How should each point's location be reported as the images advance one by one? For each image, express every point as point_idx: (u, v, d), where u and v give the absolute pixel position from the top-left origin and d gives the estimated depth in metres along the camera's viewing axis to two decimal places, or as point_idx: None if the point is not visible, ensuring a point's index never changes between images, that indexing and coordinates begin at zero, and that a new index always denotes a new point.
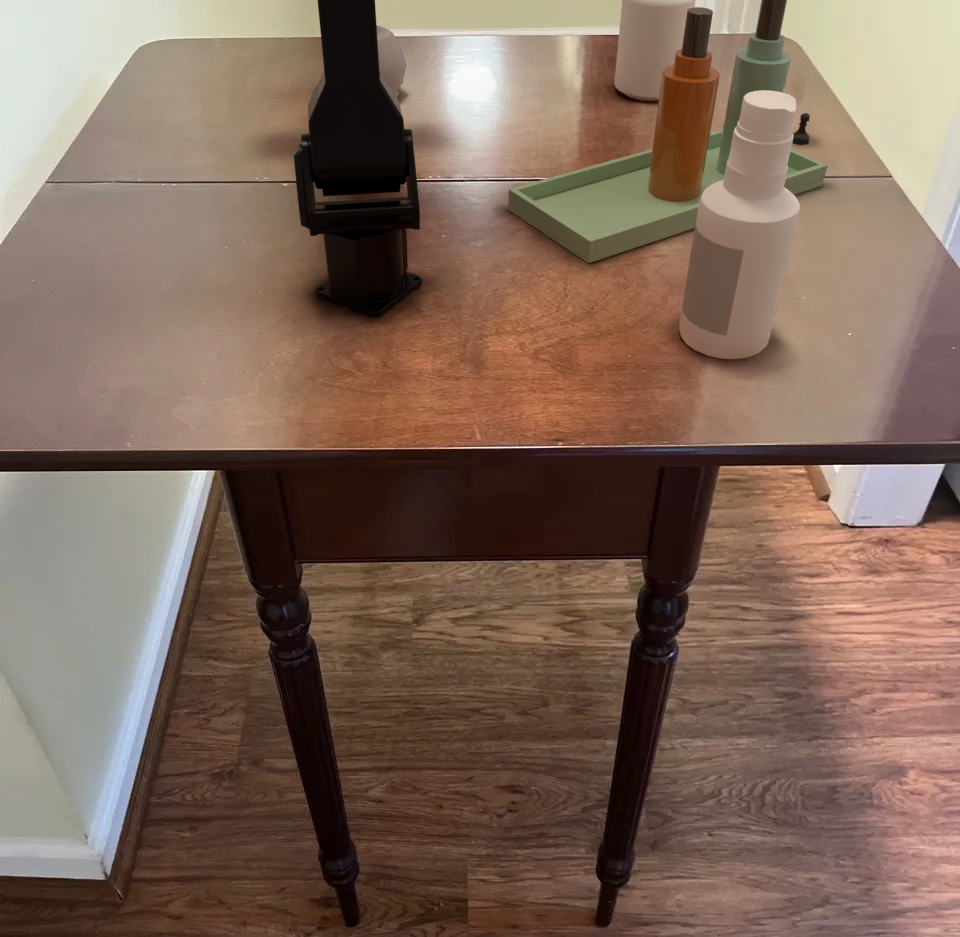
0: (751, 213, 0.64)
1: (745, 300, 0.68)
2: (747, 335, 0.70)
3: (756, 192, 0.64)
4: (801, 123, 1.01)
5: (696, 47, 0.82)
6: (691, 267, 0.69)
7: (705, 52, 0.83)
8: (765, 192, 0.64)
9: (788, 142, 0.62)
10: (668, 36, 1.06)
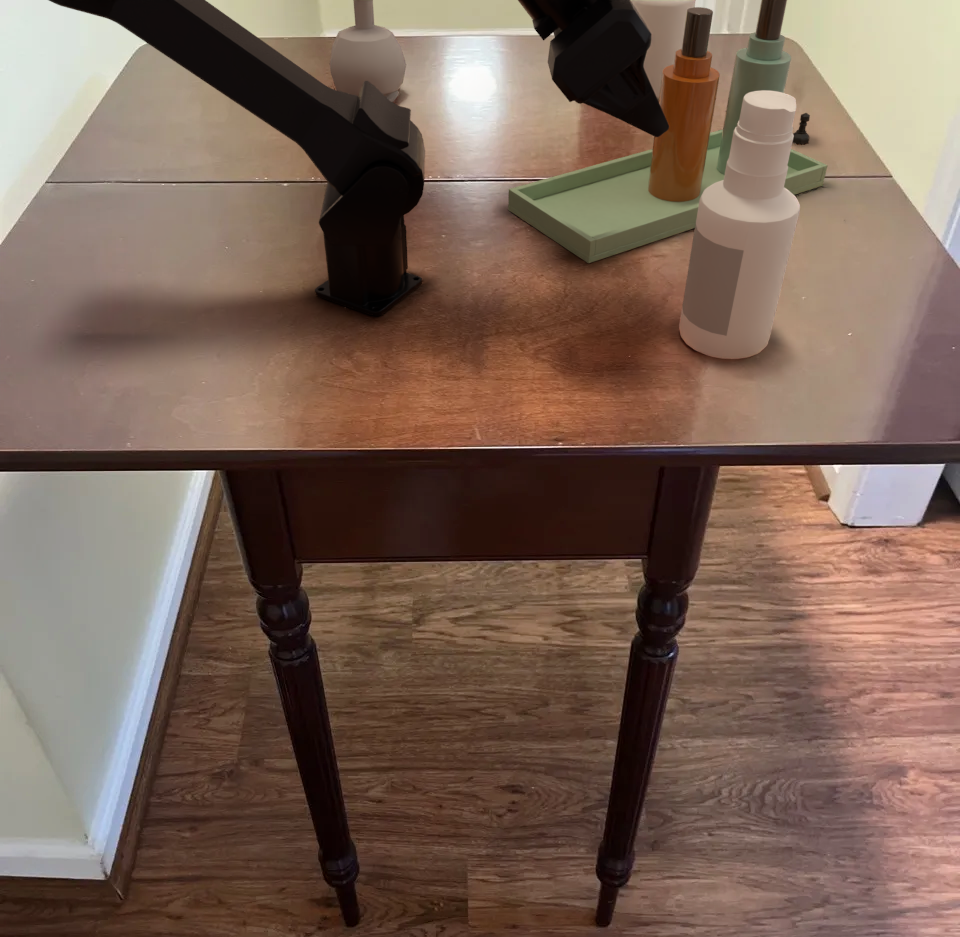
0: (751, 213, 0.64)
1: (745, 300, 0.68)
2: (747, 335, 0.70)
3: (756, 192, 0.64)
4: (801, 123, 1.01)
5: (696, 47, 0.82)
6: (691, 267, 0.69)
7: (705, 52, 0.83)
8: (765, 192, 0.64)
9: (788, 142, 0.62)
10: (668, 36, 1.06)
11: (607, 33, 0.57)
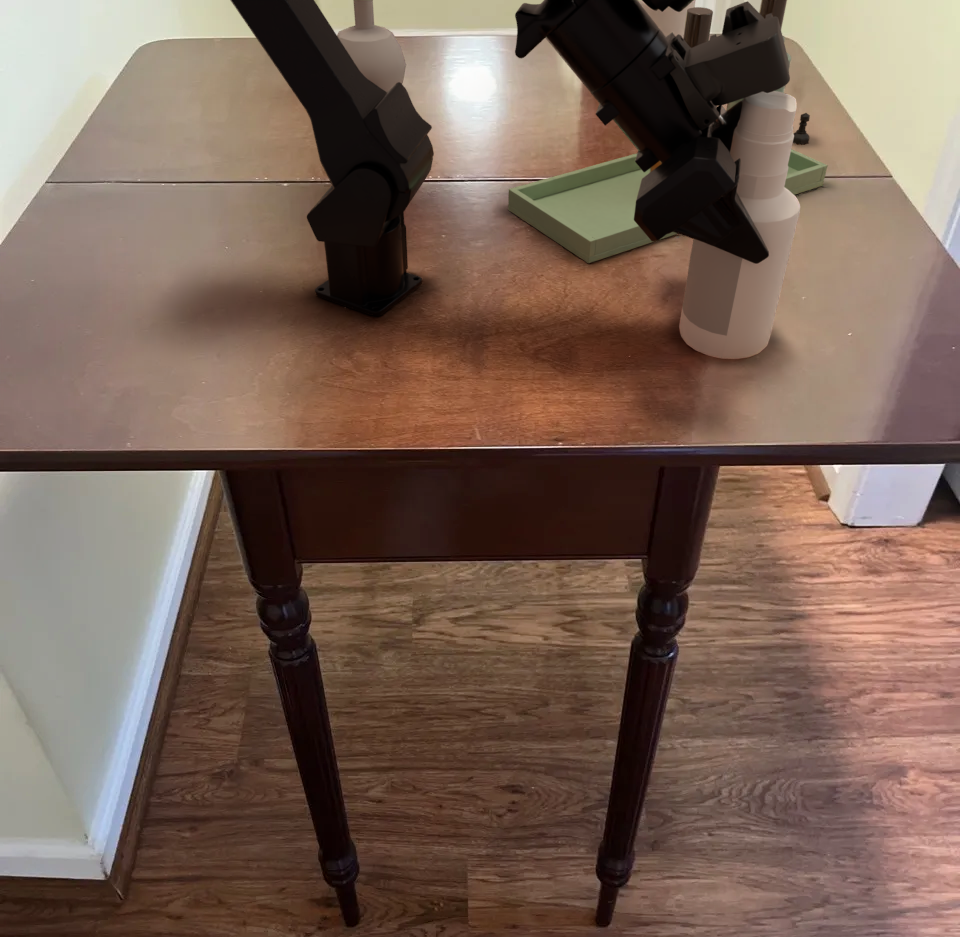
0: (751, 212, 0.64)
1: (746, 299, 0.68)
2: (747, 335, 0.70)
3: (756, 192, 0.64)
4: (801, 123, 1.01)
5: None
6: (691, 267, 0.69)
7: None
8: (765, 192, 0.64)
9: (789, 142, 0.62)
10: None
11: (686, 181, 0.57)
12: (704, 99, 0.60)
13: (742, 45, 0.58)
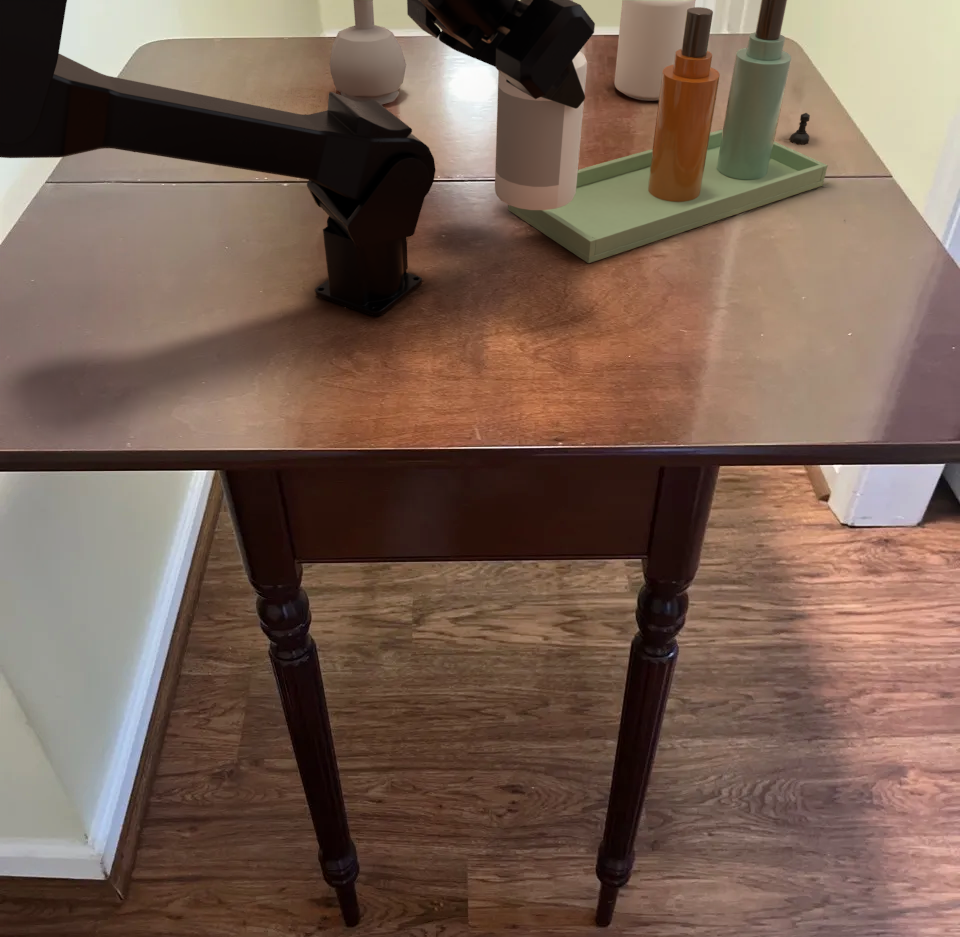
0: None
1: (569, 146, 0.76)
2: (571, 179, 0.78)
3: None
4: (801, 123, 1.01)
5: (696, 47, 0.82)
6: (511, 134, 0.75)
7: (705, 52, 0.83)
8: None
9: None
10: (668, 36, 1.06)
11: (564, 30, 0.63)
12: None
13: None
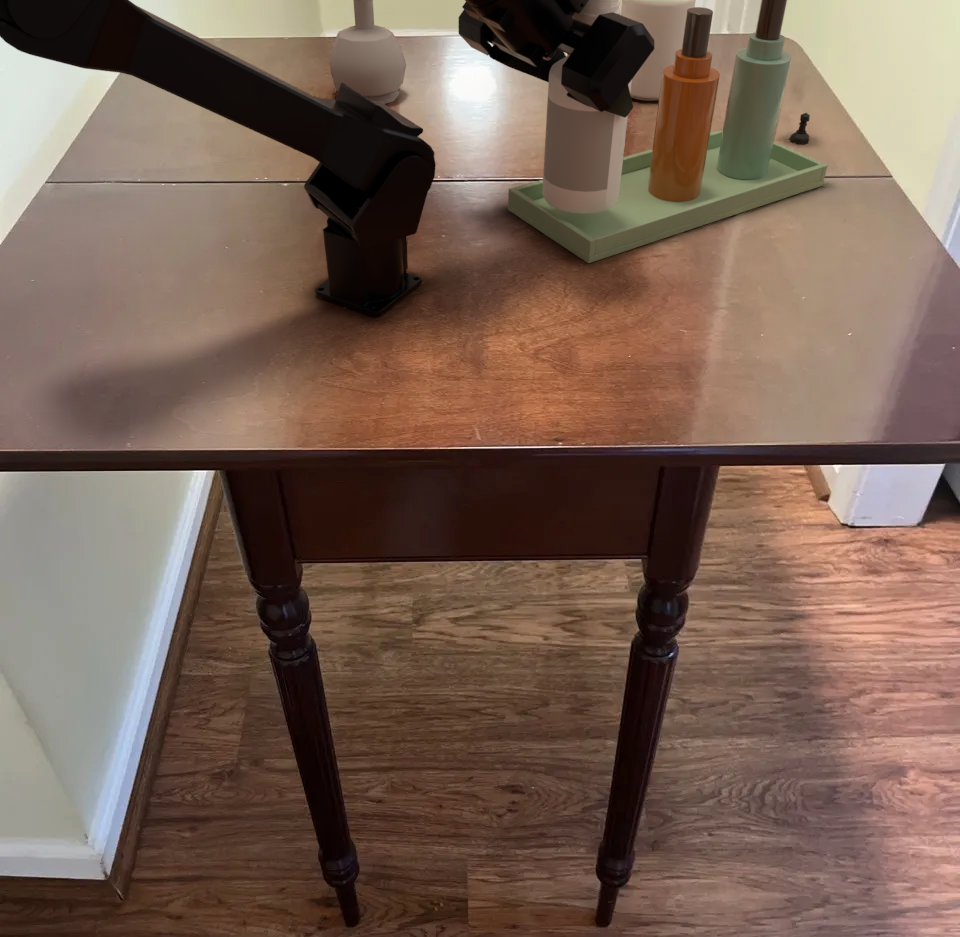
0: None
1: (617, 152, 0.81)
2: (617, 183, 0.83)
3: None
4: (801, 123, 1.01)
5: (696, 47, 0.82)
6: (563, 143, 0.80)
7: (705, 52, 0.83)
8: None
9: (620, 10, 0.75)
10: (668, 36, 1.06)
11: (629, 48, 0.67)
12: None
13: None
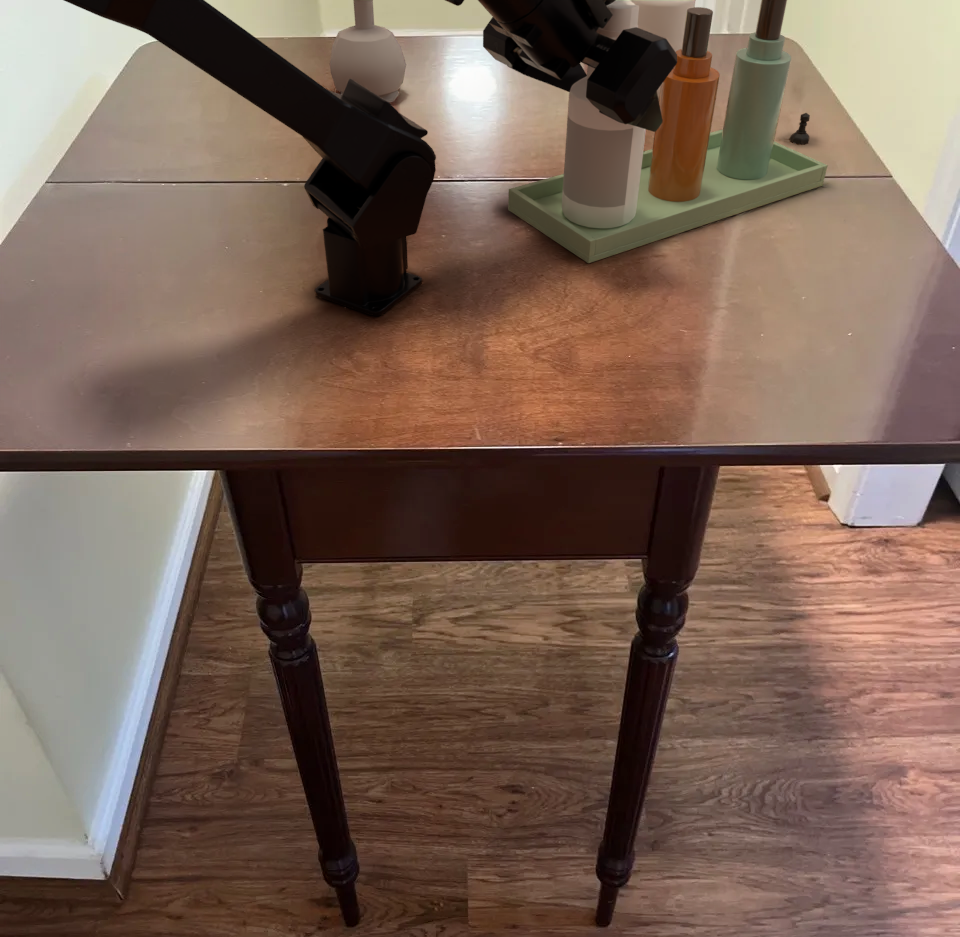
0: None
1: (634, 169, 0.83)
2: (634, 199, 0.85)
3: None
4: (801, 123, 1.01)
5: (696, 47, 0.82)
6: (582, 161, 0.82)
7: (705, 52, 0.83)
8: None
9: None
10: (668, 36, 1.06)
11: (653, 62, 0.69)
12: (603, 1, 0.72)
13: None
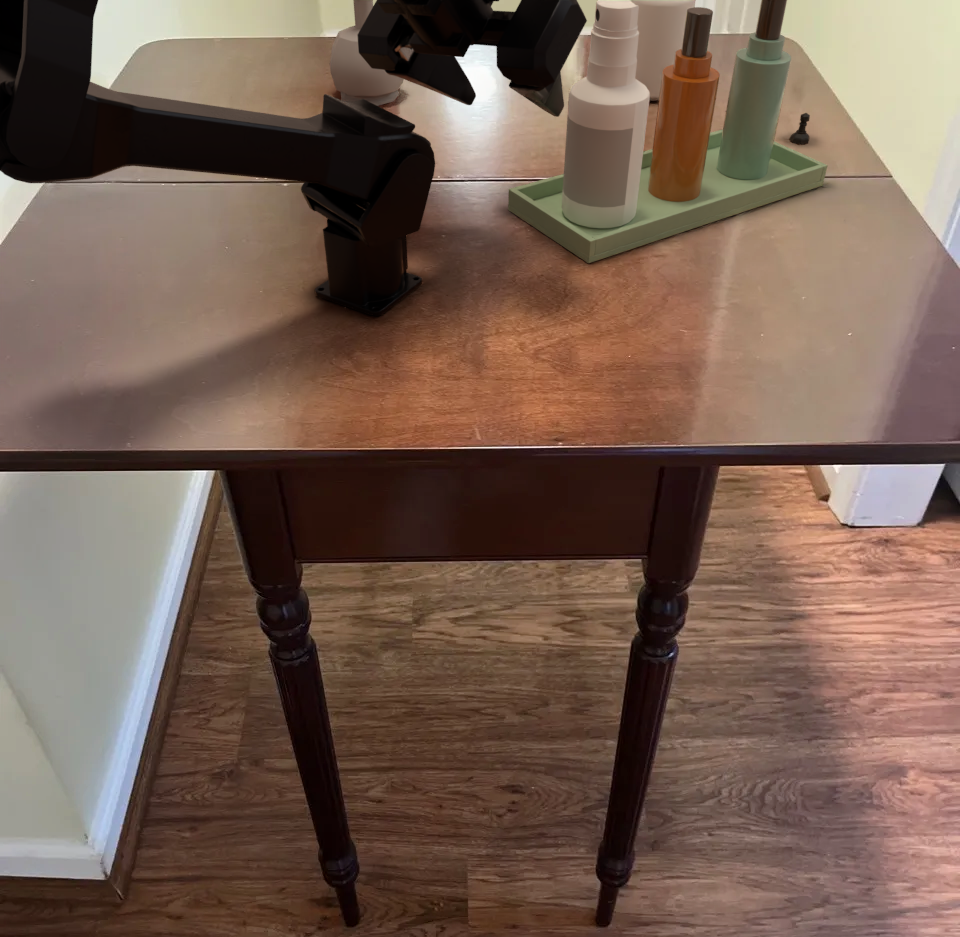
0: (632, 95, 0.79)
1: (634, 169, 0.83)
2: (634, 199, 0.85)
3: (628, 79, 0.79)
4: (801, 123, 1.01)
5: (696, 47, 0.82)
6: (582, 161, 0.82)
7: (705, 52, 0.83)
8: (632, 77, 0.79)
9: (638, 32, 0.78)
10: (668, 36, 1.06)
11: (566, 16, 0.65)
12: None
13: None
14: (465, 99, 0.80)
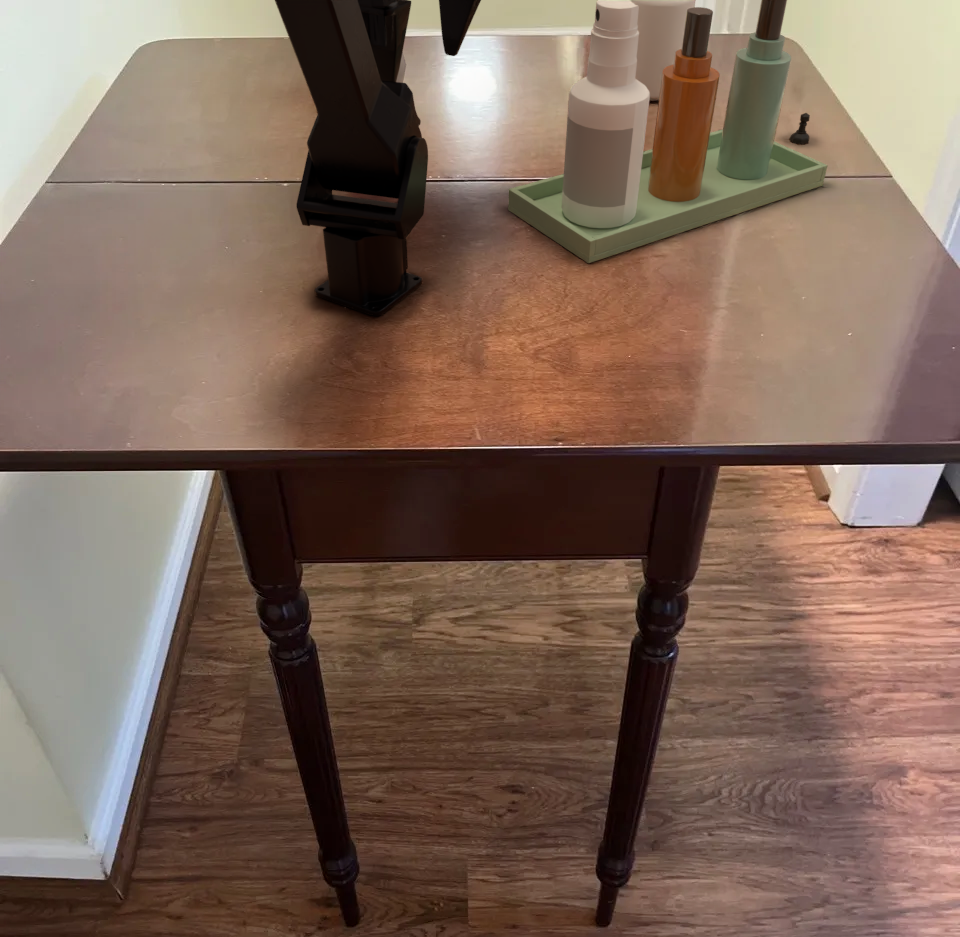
0: (632, 95, 0.79)
1: (634, 169, 0.83)
2: (634, 199, 0.85)
3: (628, 79, 0.79)
4: (801, 123, 1.01)
5: (696, 47, 0.82)
6: (582, 161, 0.82)
7: (705, 52, 0.83)
8: (632, 77, 0.79)
9: (638, 32, 0.78)
10: (668, 36, 1.06)
11: None
12: None
13: None
14: None
